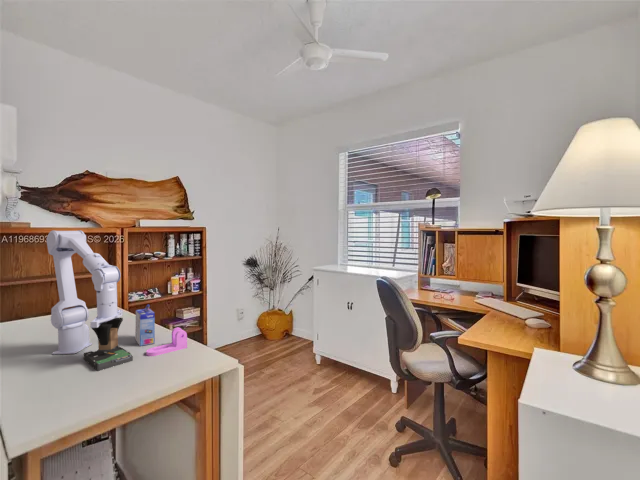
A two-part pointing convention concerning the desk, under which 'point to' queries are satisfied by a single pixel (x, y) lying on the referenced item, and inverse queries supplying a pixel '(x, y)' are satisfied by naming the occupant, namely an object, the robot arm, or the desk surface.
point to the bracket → (177, 343)
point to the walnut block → (110, 340)
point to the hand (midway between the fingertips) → (108, 342)
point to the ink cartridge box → (145, 326)
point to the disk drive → (107, 358)
